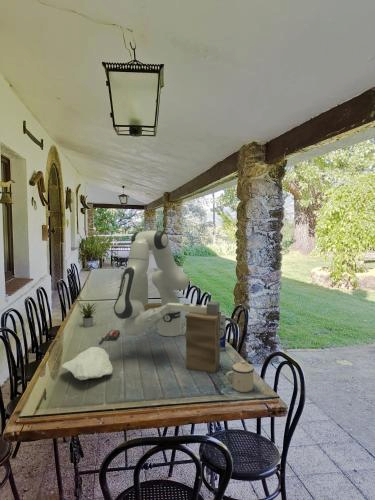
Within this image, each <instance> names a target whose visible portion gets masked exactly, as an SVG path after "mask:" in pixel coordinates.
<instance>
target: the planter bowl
mask: <svg viewBox="0 0 375 500" xmlns="http://www.w3.org/2000/svg"><path fill="white" fill-rule="evenodd" d="M161 306H162V305H161V302H150V303H149V302H148V304H146V305H144V307H145V311H147V310H149V309H154V308H159V307H161Z"/></svg>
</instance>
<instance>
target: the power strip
mask: <svg viewBox="0 0 375 500" xmlns="http://www.w3.org/2000/svg"><path fill="white" fill-rule="evenodd" d="M220 304H221V303H220V301H211V300H210V301H208V302H207V303H206V305H205V304H194V303H193V304H192V303H180V302H179V303H168V304H166V308H168V307H170V308H171V310H170V311H180V312H183V313H189V312H192V313H204V314H209V315H217V314H218V313H219V312H221V311H220V308H221V307H220Z"/></svg>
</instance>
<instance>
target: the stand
mask: <svg viewBox="0 0 375 500" xmlns="http://www.w3.org/2000/svg"><path fill="white" fill-rule="evenodd" d="M220 315H222V312H221V311H219V313H218V314H217V315H209V314H204V313H192V312H187V313H186V314H185V315H184V319H185V323H186V324H185V326H186V333H185V369H186V370H192V371H199V372H206V373H213V374H215V373H216V371H217V369H218V368H219V366H220V365H221V361H220V360H221V359H220V358H221V356H220V355H221V354H220V353H221V351H220Z"/></svg>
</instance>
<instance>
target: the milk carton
mask: <svg viewBox="0 0 375 500" xmlns="http://www.w3.org/2000/svg"><path fill="white" fill-rule="evenodd" d="M226 322H227V315H226V314H221V315H220V352H223V351H224V352H225V351H226V342H227V340H226V337H227V335H226V334H227V333H226V329H227V328H226V327H227V326H226V325H227V324H226Z"/></svg>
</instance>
